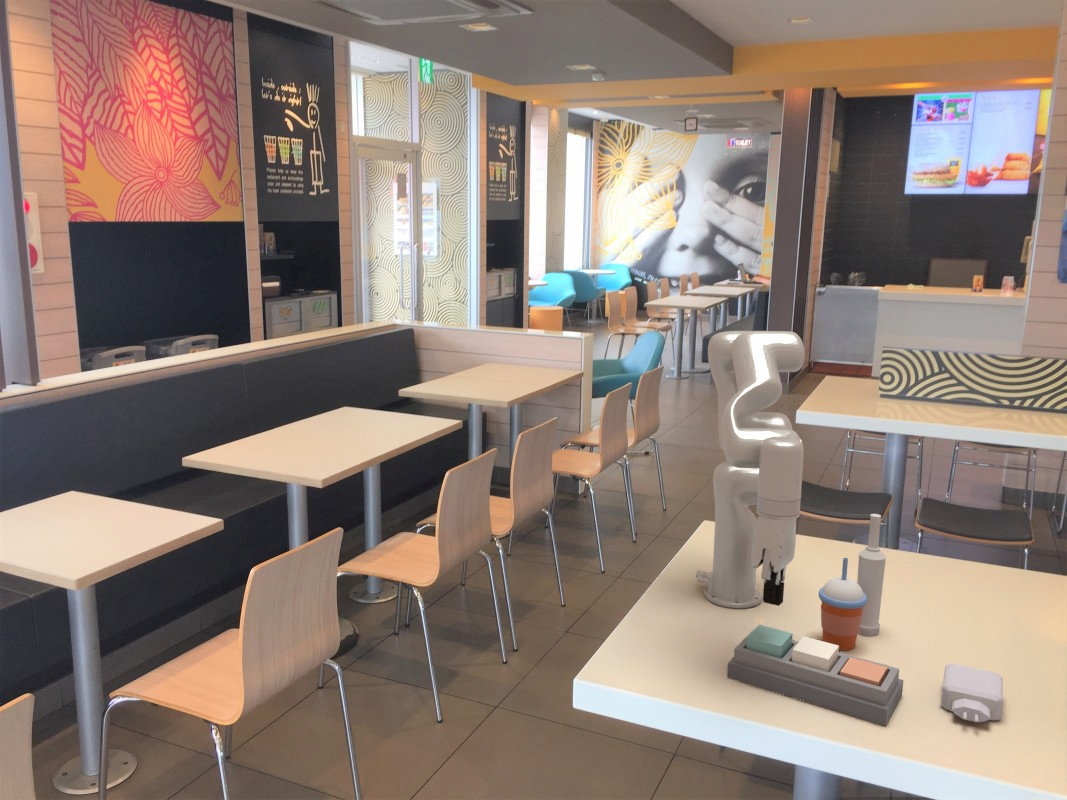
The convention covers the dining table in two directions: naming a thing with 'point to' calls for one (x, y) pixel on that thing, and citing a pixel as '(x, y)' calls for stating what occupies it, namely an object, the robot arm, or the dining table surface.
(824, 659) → the cream key
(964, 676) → the charger
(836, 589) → the cup with straw
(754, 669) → the keypad
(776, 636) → the teal key
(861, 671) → the terracotta key
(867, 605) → the bottle
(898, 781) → the dining table surface
